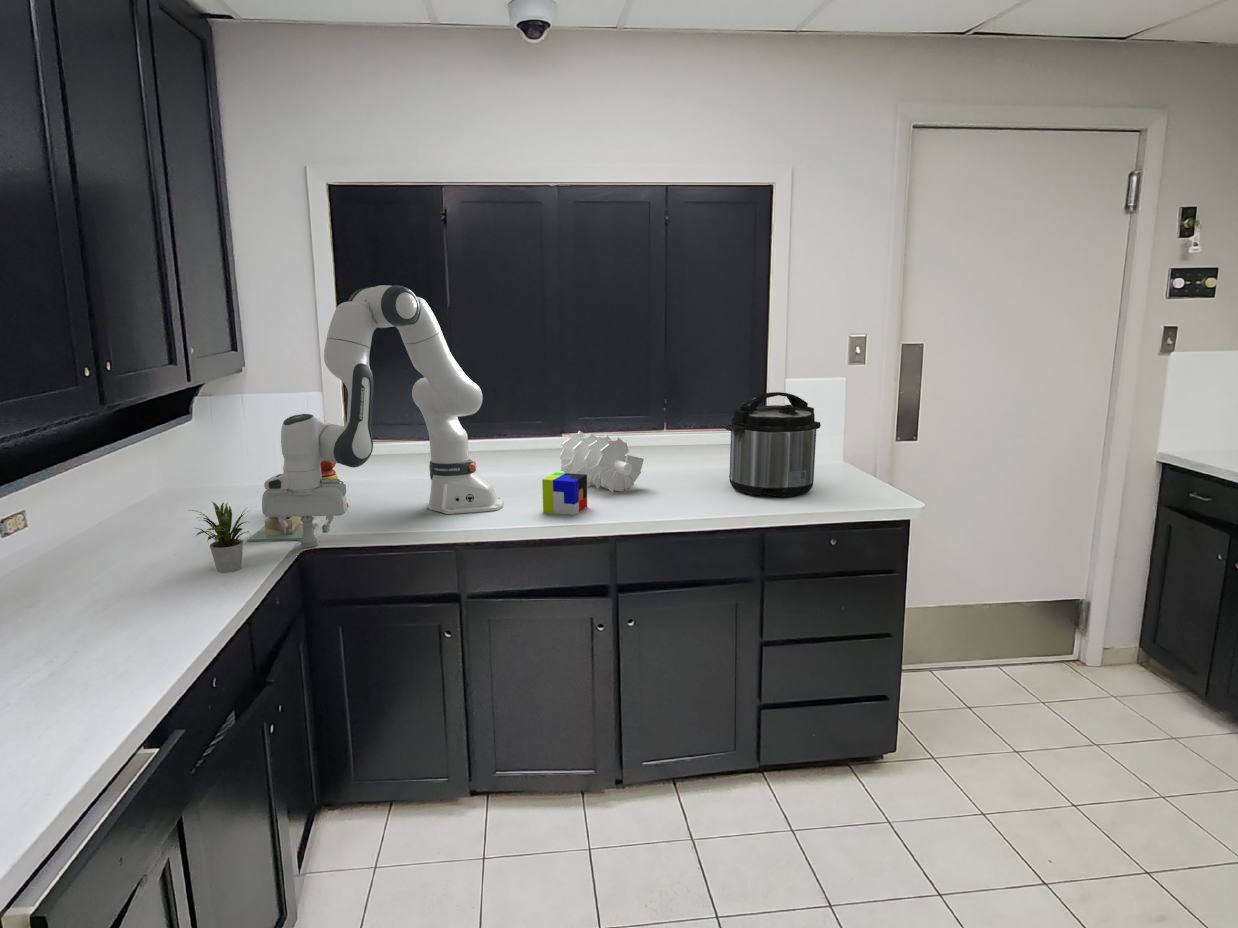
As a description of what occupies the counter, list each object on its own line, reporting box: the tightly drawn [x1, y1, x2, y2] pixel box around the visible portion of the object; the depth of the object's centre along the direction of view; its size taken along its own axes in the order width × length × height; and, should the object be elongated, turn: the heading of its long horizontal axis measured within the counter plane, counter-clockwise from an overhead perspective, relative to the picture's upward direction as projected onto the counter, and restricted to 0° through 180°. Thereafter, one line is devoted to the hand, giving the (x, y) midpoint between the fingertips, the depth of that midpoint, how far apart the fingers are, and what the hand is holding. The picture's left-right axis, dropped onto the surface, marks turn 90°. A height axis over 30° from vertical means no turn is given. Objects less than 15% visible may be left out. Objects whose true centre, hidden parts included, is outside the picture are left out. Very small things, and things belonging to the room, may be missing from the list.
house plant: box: [187, 501, 252, 573], centre depth 191 cm, size 14×14×16 cm
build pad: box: [247, 522, 319, 543], centre depth 220 cm, size 14×14×1 cm
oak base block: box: [264, 516, 302, 535], centre depth 219 cm, size 7×7×4 cm
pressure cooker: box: [724, 391, 822, 497], centre depth 264 cm, size 30×28×32 cm
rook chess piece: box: [299, 516, 319, 549], centre depth 208 cm, size 4×4×8 cm
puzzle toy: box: [541, 471, 588, 516], centre depth 242 cm, size 10×10×10 cm
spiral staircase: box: [558, 430, 645, 493], centre depth 268 cm, size 18×18×25 cm
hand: (307, 532), depth 208 cm, fingers open, 8 cm apart
